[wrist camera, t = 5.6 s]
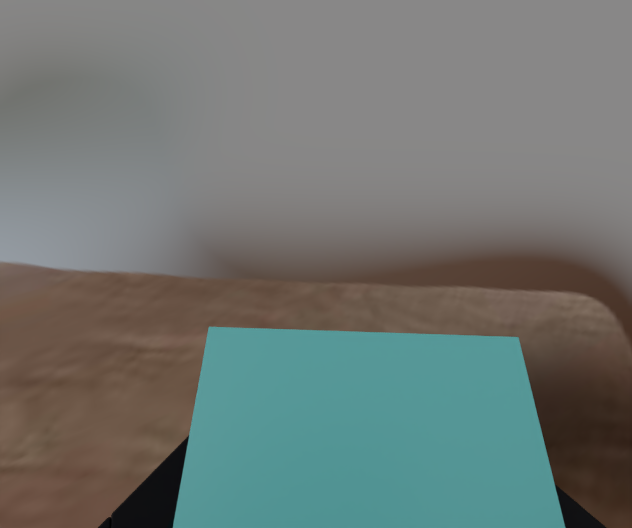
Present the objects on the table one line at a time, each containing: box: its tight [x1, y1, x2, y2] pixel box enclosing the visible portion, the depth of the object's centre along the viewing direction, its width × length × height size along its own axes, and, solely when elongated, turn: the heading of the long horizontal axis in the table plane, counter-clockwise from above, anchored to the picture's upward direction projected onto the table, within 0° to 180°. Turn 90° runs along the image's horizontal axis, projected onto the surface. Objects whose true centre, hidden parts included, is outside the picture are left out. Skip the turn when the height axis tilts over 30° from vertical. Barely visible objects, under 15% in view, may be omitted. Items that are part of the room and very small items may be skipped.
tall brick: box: [173, 327, 565, 528], centre depth 9 cm, size 6×6×10 cm
